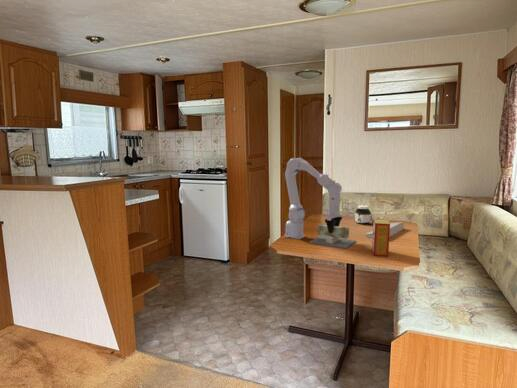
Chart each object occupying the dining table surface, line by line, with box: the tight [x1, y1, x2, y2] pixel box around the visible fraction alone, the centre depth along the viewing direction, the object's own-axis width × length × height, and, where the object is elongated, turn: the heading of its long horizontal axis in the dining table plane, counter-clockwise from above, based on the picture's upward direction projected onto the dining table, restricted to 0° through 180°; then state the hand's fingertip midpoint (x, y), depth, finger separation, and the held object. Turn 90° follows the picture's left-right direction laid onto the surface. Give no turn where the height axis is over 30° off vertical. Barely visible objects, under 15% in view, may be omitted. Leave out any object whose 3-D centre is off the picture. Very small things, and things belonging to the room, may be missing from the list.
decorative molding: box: [364, 221, 405, 239], centre depth 216 cm, size 34×5×10 cm
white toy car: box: [354, 204, 376, 226], centre depth 240 cm, size 12×11×12 cm
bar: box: [317, 223, 350, 239], centre depth 195 cm, size 16×4×5 cm, turn 58°
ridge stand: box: [309, 235, 357, 250], centre depth 195 cm, size 20×16×4 cm
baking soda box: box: [371, 218, 391, 257], centre depth 176 cm, size 10×6×16 cm
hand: (333, 231), depth 195 cm, fingers open, 7 cm apart
